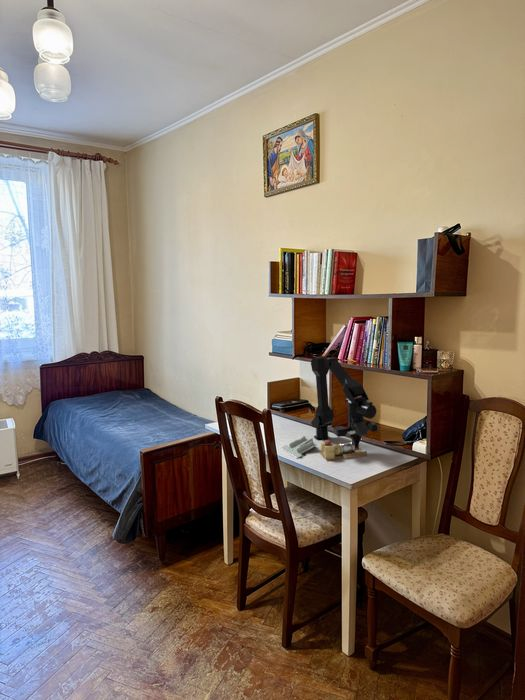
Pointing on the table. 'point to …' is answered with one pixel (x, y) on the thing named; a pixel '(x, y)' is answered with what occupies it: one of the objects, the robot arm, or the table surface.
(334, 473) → the table surface
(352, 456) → the wooden channel tray
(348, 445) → the cylinder
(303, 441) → the metal bracket
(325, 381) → the robot arm
